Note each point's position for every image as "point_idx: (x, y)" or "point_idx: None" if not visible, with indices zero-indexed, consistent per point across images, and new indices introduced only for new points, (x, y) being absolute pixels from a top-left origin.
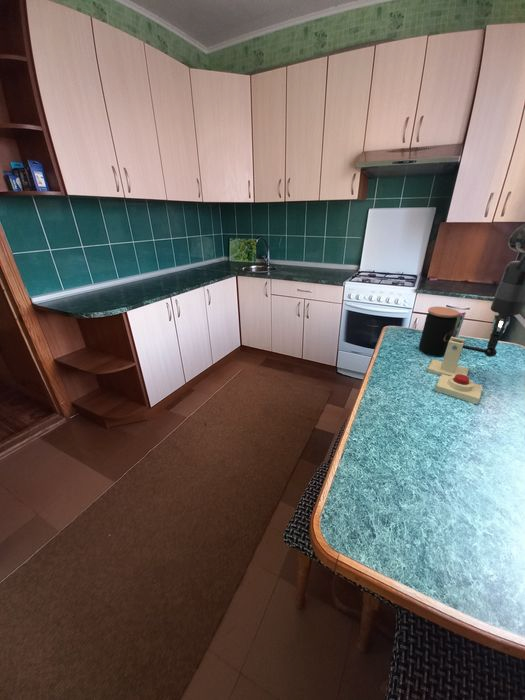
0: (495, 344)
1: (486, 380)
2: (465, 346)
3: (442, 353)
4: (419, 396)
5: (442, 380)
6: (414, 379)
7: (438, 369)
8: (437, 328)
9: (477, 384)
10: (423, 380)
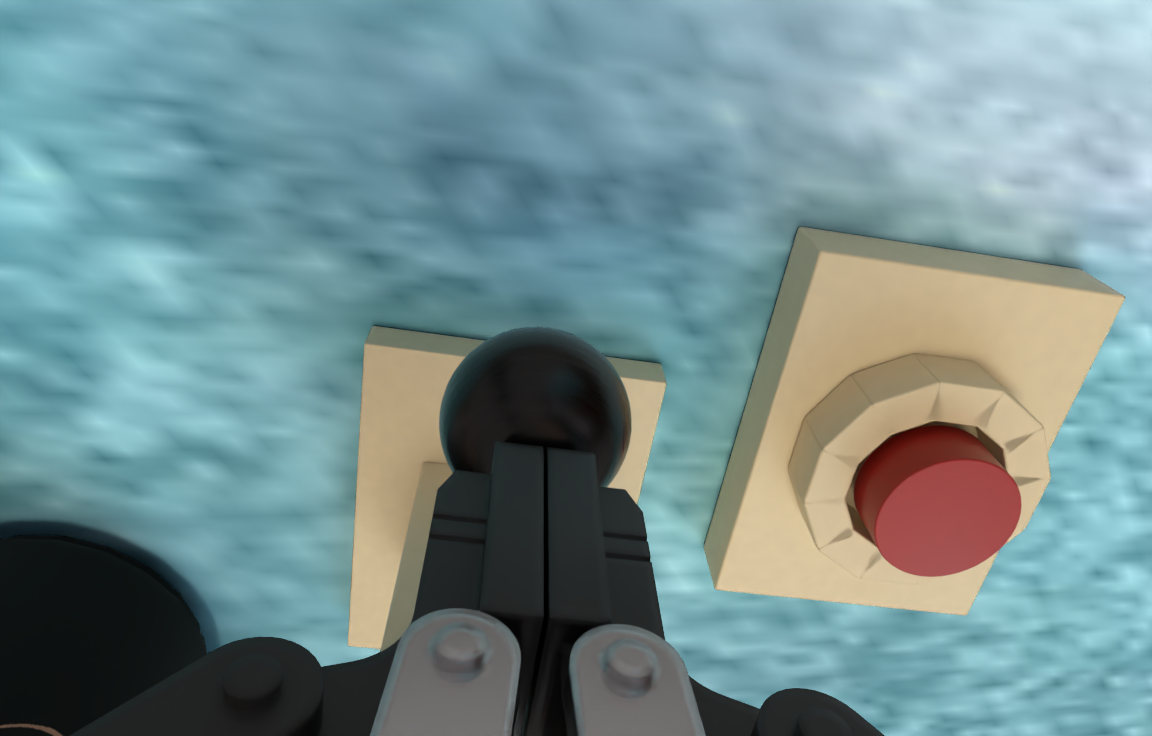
0: (592, 526)
1: (493, 146)
2: None
3: (142, 591)
4: (1062, 651)
5: (850, 580)
6: None
7: None
8: None
9: (811, 301)
10: (783, 649)
